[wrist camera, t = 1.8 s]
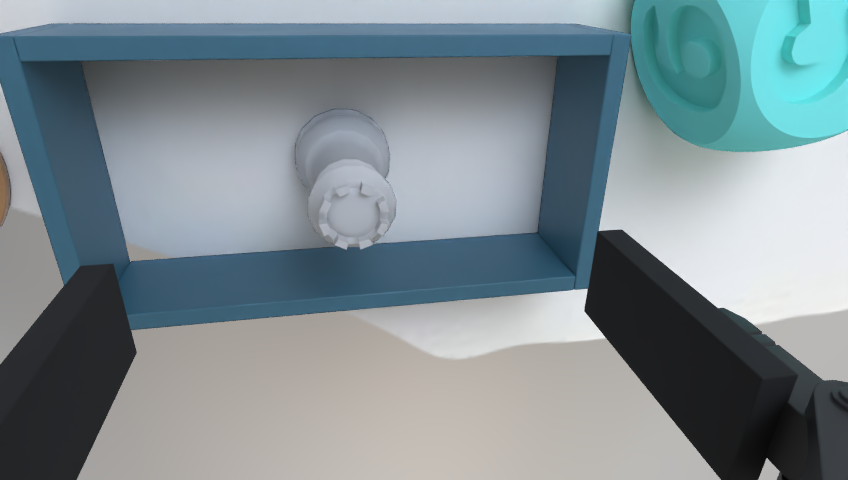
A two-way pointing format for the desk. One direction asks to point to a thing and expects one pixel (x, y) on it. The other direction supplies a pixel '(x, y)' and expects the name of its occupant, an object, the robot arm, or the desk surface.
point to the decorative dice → (744, 70)
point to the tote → (319, 267)
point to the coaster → (4, 191)
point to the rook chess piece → (346, 177)
